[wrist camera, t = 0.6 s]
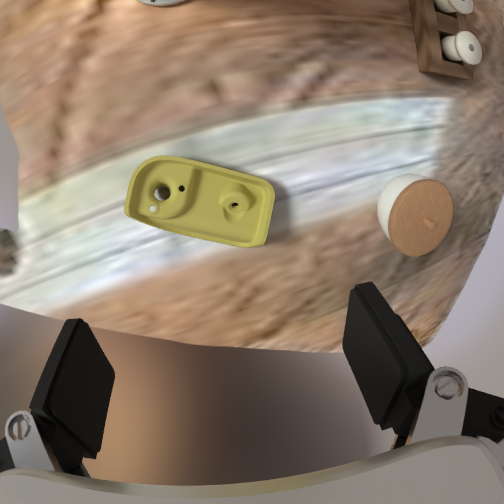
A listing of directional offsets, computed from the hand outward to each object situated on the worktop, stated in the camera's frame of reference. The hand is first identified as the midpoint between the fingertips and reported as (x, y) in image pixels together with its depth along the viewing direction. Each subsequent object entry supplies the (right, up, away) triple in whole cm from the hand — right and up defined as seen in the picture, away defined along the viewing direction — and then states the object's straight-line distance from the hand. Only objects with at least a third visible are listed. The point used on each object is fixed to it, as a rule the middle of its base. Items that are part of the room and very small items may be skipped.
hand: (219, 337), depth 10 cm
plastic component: (-6, +11, +34) cm, 37 cm away
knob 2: (+33, +36, +21) cm, 53 cm away
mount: (+32, +45, +20) cm, 59 cm away
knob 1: (+32, +44, +17) cm, 57 cm away
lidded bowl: (+26, +12, +38) cm, 47 cm away
